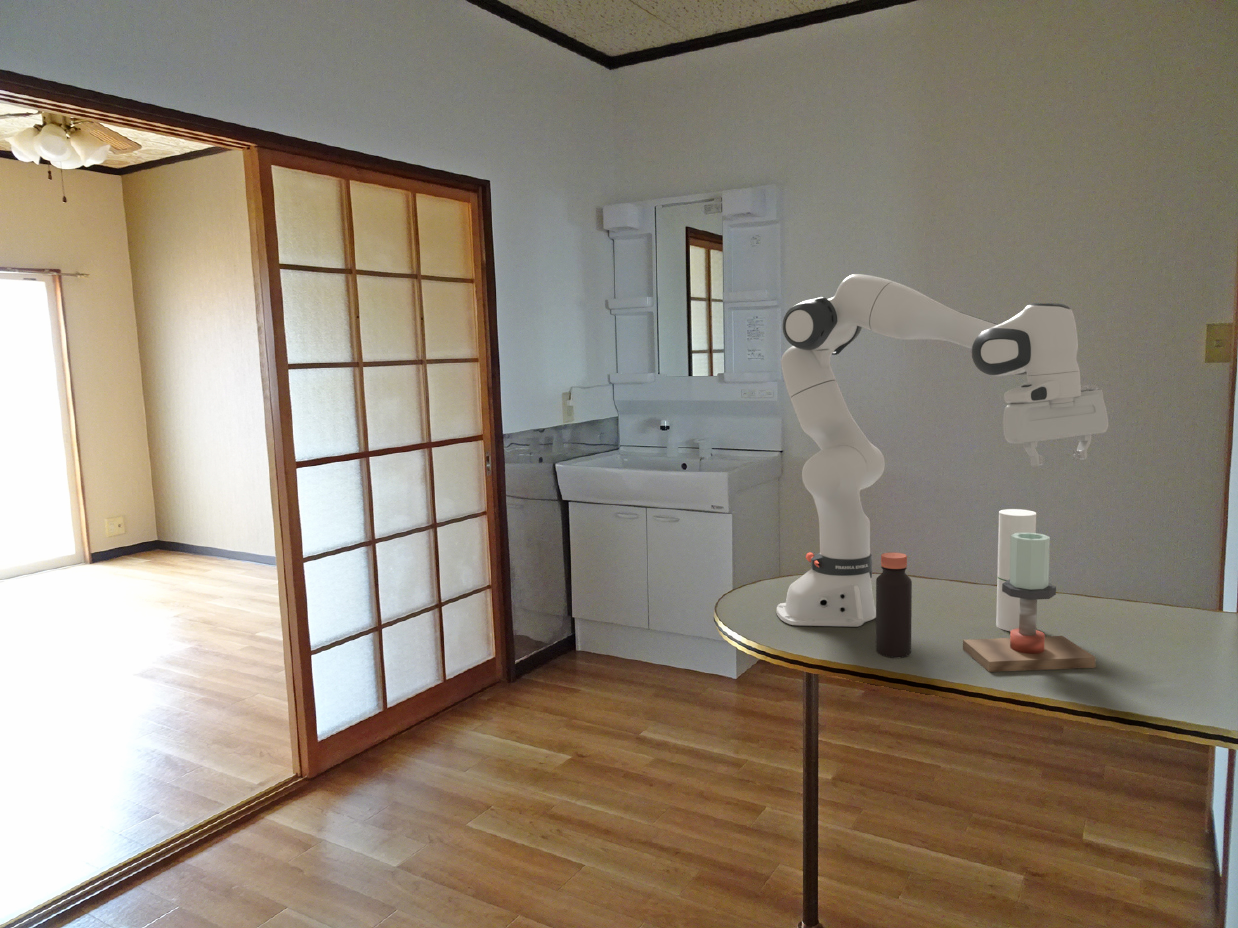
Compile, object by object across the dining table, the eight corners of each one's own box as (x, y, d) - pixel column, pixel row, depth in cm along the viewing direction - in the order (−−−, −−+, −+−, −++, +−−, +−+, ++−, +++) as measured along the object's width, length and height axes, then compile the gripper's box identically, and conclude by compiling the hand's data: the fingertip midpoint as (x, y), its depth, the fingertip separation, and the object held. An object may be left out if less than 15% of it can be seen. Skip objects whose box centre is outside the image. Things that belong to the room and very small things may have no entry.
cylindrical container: (1036, 632, 181) (1040, 515, 178) (1000, 631, 183) (1003, 515, 179) (1027, 621, 188) (1031, 509, 185) (992, 620, 190) (995, 509, 186)
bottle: (899, 644, 177) (900, 549, 174) (917, 656, 171) (918, 557, 168) (869, 648, 176) (869, 552, 173) (886, 659, 169) (887, 560, 166)
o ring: (1016, 600, 161) (1016, 592, 161) (996, 587, 170) (996, 579, 170) (1062, 598, 161) (1062, 590, 161) (1039, 585, 170) (1040, 578, 170)
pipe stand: (988, 671, 161) (990, 589, 159) (962, 649, 173) (964, 571, 171) (1095, 667, 162) (1098, 584, 159) (1061, 645, 173) (1064, 567, 171)
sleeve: (1020, 589, 162) (1021, 540, 161) (1005, 580, 168) (1006, 533, 167) (1053, 588, 162) (1054, 539, 161) (1037, 579, 169) (1038, 532, 167)
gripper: (1089, 384, 166) (1093, 455, 167) (995, 394, 162) (1001, 467, 163) (1114, 382, 160) (1118, 456, 161) (1018, 394, 156) (1023, 469, 157)
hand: (1058, 462), depth 162 cm, fingers open, 8 cm apart
